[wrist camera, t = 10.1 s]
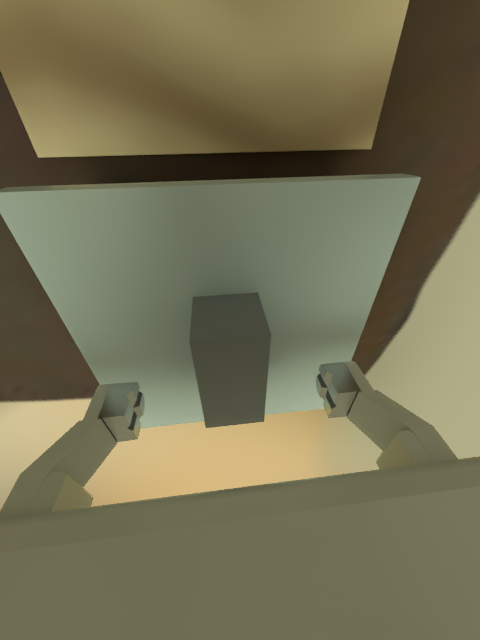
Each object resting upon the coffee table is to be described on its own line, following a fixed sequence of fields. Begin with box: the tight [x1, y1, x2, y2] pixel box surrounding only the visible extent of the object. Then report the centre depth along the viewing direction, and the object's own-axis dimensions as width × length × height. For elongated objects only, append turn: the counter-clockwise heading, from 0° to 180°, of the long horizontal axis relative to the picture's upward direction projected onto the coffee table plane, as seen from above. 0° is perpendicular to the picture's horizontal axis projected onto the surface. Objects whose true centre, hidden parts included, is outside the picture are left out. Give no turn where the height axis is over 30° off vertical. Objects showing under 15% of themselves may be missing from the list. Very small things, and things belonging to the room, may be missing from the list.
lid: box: [0, 173, 421, 428], centre depth 12 cm, size 15×15×4 cm
